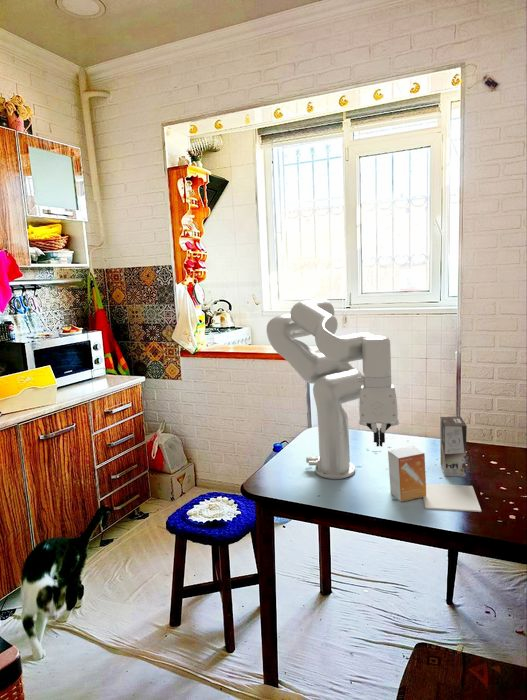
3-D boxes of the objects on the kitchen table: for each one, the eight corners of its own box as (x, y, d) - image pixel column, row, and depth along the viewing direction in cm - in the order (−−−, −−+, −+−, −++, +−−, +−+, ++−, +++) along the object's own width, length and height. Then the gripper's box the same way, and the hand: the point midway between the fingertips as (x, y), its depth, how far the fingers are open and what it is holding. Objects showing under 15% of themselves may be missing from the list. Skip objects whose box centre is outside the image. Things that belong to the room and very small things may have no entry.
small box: (400, 502, 137) (398, 458, 135) (390, 492, 143) (387, 450, 141) (427, 496, 139) (425, 452, 136) (415, 487, 145) (413, 444, 142)
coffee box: (466, 477, 150) (467, 426, 146) (444, 476, 151) (444, 425, 148) (461, 464, 158) (461, 415, 155) (439, 463, 160) (439, 415, 157)
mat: (425, 508, 133) (425, 507, 133) (421, 484, 147) (421, 483, 146) (481, 512, 130) (481, 510, 130) (472, 487, 143) (472, 485, 143)
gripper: (348, 385, 135) (351, 449, 138) (406, 384, 131) (407, 450, 134) (350, 378, 142) (353, 439, 145) (405, 377, 138) (406, 440, 141)
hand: (379, 444), depth 139 cm, fingers closed
